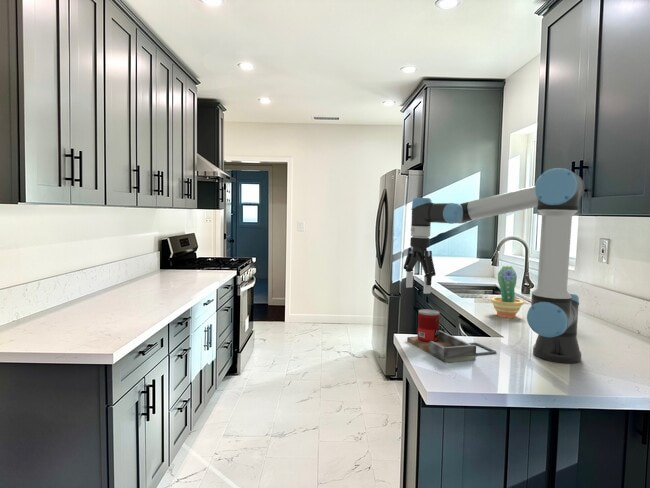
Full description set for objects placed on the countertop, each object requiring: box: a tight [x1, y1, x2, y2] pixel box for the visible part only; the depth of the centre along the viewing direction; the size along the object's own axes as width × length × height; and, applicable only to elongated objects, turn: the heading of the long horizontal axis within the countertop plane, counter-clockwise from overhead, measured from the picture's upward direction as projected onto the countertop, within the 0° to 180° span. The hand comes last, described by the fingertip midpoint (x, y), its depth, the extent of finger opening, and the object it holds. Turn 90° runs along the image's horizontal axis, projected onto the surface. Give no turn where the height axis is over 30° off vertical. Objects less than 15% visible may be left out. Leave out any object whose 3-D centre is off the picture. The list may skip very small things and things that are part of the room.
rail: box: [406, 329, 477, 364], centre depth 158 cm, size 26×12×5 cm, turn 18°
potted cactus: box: [490, 265, 525, 319], centre depth 216 cm, size 15×15×25 cm
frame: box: [468, 342, 497, 356], centre depth 159 cm, size 12×10×1 cm
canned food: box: [417, 308, 441, 342], centre depth 165 cm, size 8×8×11 cm
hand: (417, 290), depth 172 cm, fingers open, 13 cm apart
